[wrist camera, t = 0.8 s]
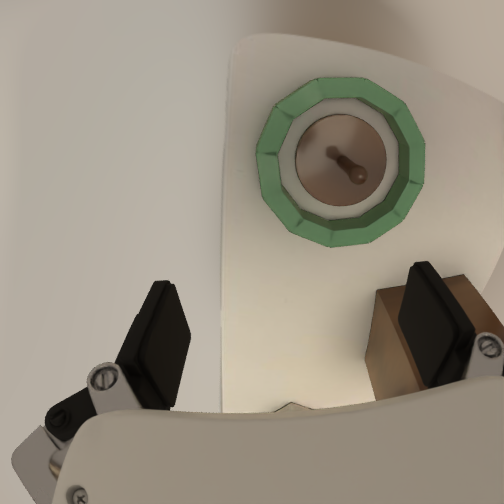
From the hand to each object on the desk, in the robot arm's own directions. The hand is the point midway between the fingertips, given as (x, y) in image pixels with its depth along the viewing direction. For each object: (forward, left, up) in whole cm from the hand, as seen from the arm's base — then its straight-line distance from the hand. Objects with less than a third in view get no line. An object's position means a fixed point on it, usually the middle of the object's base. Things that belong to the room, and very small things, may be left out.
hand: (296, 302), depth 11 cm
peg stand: (-1, +6, -18) cm, 19 cm away
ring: (-1, +6, -18) cm, 19 cm away
